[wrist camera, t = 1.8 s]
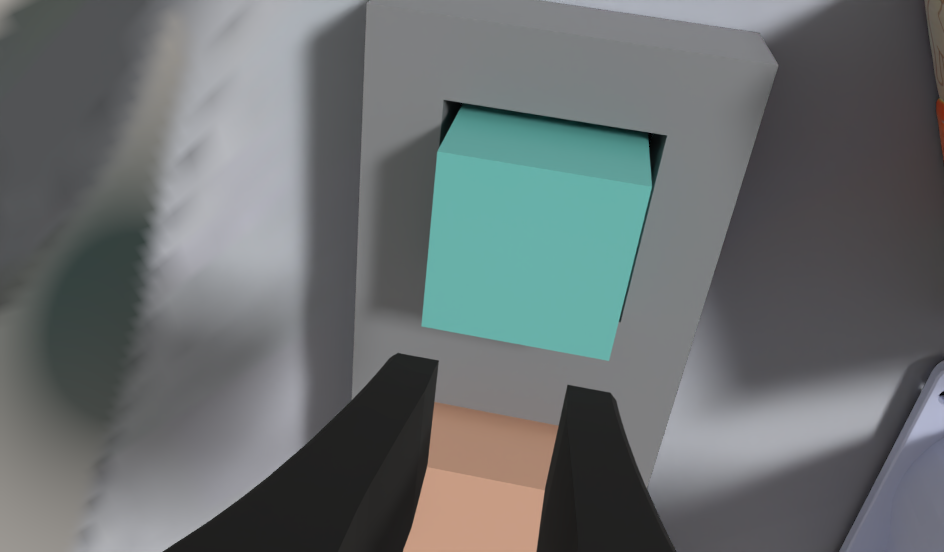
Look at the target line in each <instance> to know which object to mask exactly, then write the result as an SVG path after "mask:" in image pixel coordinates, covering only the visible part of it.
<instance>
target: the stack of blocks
mask: <svg viewBox="0 0 944 552" xmlns="http://www.w3.org/2000/svg"><path fill="white" fill-rule="evenodd" d="M925 9H926V17H927V24H928V32H929V40H930V46H931V52H932V58H933V66H934V74H935V79H936V84H937V89H938V93H939V99H938V100H937V102H936V113H937V119H938V124H939V132H940V139H941V147H942V154H943V161H944V0H925Z"/></svg>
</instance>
